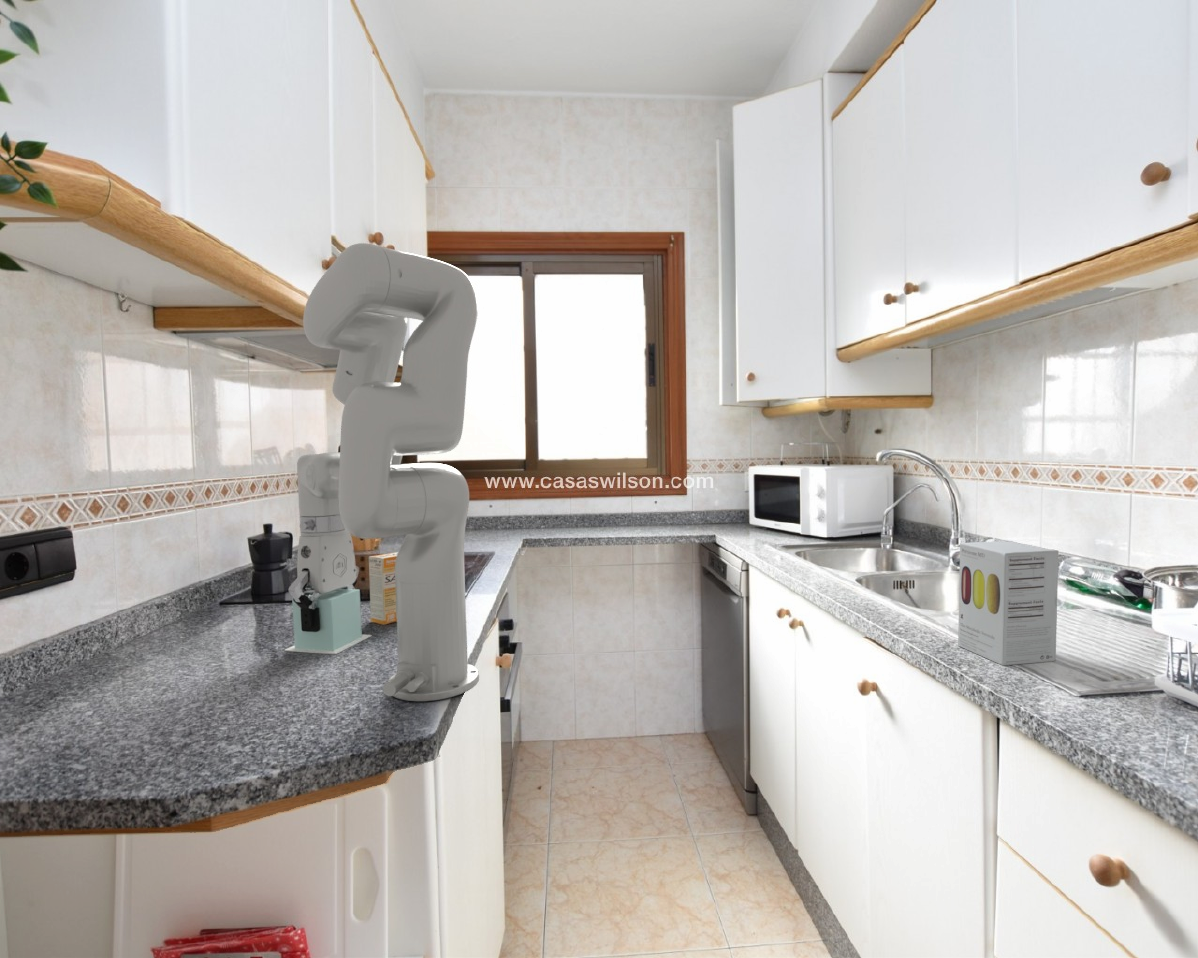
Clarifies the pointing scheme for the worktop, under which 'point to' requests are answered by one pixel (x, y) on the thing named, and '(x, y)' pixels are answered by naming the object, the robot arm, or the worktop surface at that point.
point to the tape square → (329, 650)
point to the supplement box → (382, 588)
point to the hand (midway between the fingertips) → (328, 623)
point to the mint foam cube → (331, 621)
